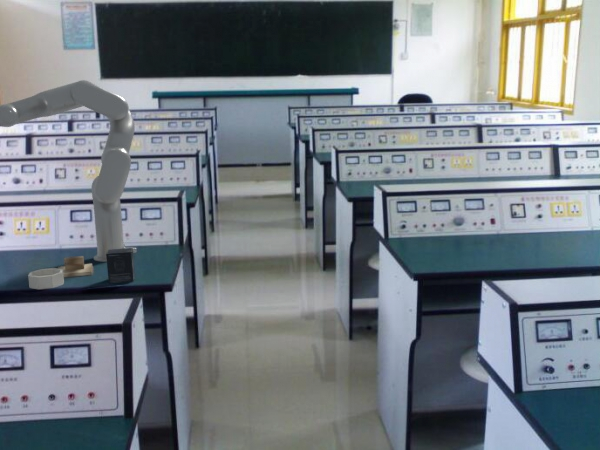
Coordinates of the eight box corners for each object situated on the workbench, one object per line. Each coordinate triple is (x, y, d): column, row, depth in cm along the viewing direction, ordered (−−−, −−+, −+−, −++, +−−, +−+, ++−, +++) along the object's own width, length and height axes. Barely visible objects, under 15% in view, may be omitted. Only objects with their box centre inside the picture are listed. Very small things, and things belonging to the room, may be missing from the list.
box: (135, 278, 204) (132, 247, 202) (133, 283, 199) (131, 251, 197) (110, 280, 203) (108, 248, 201) (108, 285, 197) (105, 253, 195)
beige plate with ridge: (92, 266, 218) (91, 252, 217) (91, 274, 207) (90, 259, 206) (59, 269, 214) (57, 255, 213) (56, 278, 204) (55, 262, 203)
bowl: (64, 280, 204) (63, 267, 203) (62, 288, 194) (61, 274, 193) (32, 283, 201) (30, 270, 200) (28, 292, 191) (27, 278, 190)
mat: (94, 267, 218) (94, 266, 218) (93, 276, 207) (93, 275, 207) (57, 271, 215) (57, 269, 215) (55, 280, 204) (55, 278, 204)
